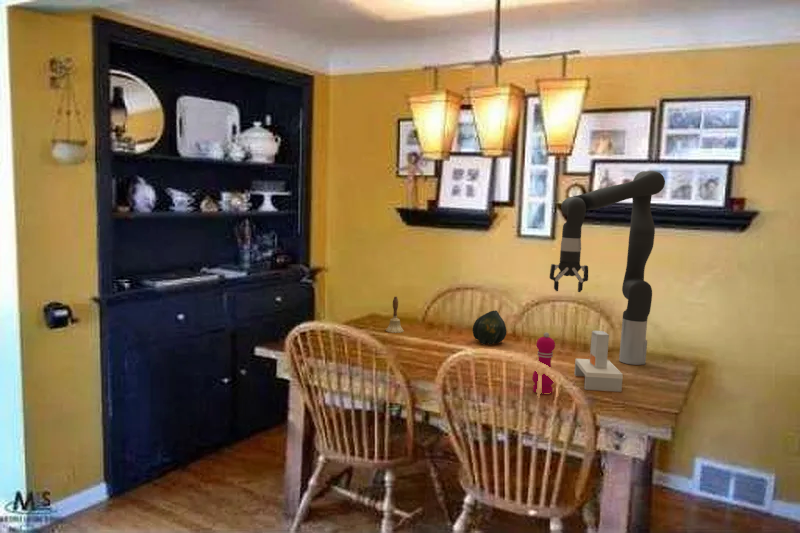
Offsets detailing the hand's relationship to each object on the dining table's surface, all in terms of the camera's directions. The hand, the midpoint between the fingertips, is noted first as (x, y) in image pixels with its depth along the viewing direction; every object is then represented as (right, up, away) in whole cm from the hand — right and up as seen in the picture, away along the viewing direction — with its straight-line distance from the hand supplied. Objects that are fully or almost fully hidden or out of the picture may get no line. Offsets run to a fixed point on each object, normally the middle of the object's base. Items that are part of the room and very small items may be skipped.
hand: (567, 291), depth 248 cm
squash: (-26, -24, +31) cm, 47 cm away
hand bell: (-67, -20, +47) cm, 85 cm away
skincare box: (+4, -25, -24) cm, 35 cm away
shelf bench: (+4, -31, -23) cm, 39 cm away
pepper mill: (-18, -32, -36) cm, 51 cm away
